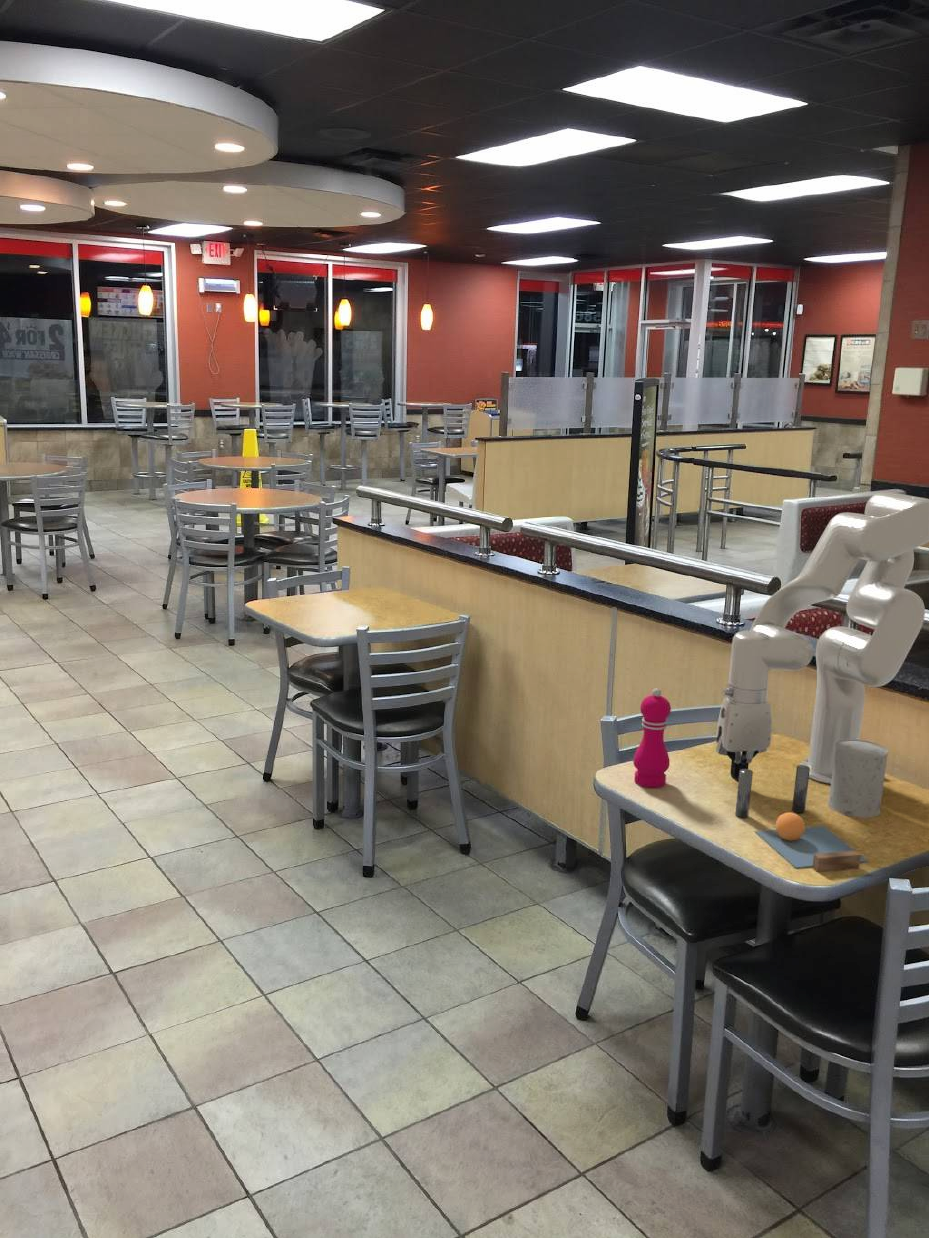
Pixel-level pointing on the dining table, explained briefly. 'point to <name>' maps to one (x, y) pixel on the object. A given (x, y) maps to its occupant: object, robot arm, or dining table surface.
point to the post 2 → (800, 789)
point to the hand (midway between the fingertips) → (738, 779)
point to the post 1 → (744, 793)
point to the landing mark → (806, 845)
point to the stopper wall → (836, 861)
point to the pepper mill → (652, 742)
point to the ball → (790, 826)
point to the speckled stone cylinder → (858, 778)
